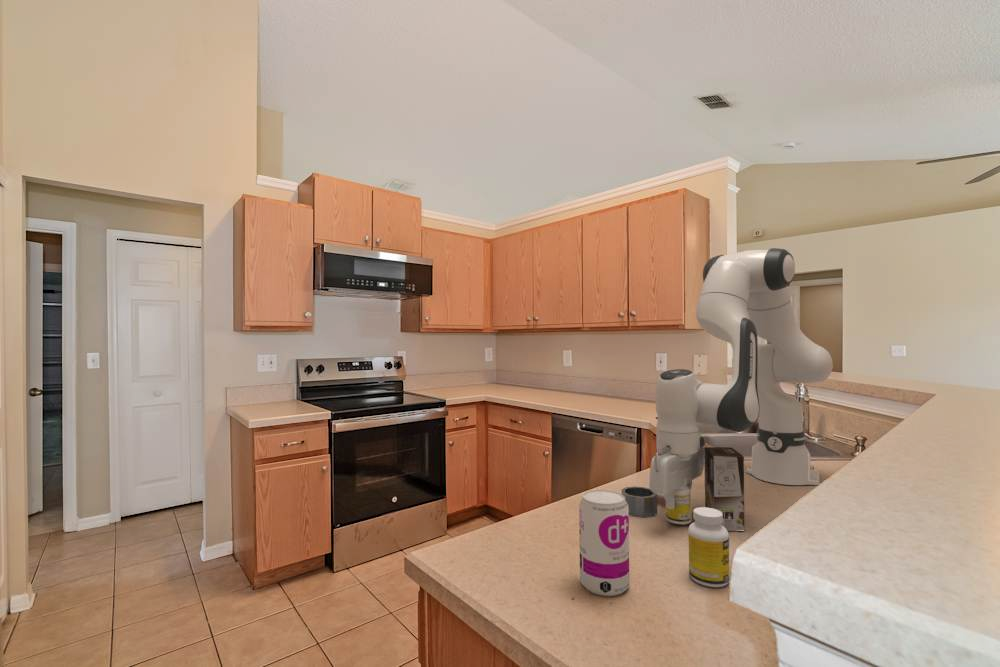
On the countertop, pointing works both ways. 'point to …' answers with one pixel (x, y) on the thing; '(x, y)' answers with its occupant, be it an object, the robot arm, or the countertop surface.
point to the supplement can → (604, 542)
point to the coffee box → (725, 485)
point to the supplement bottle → (681, 506)
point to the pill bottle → (708, 548)
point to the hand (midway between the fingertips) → (678, 504)
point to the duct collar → (640, 501)
